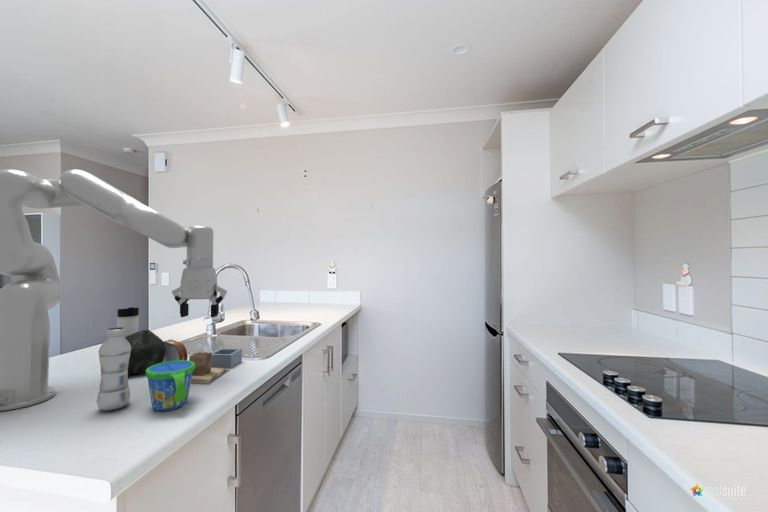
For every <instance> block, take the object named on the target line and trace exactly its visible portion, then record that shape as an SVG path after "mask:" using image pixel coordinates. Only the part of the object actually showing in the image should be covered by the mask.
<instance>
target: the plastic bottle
mask: <svg viewBox="0 0 768 512" xmlns="http://www.w3.org/2000/svg"><path fill="white" fill-rule="evenodd" d="M124 335H125V327H117V326H115V327H108V328H107V329H106V334H105V337H106V339H105V340H104V342H103V343H102V344H101V345H100V347H99V349H98V358H99V366H100V383H99V391H98V394H97V397H96V398H97V399H96V404H97V408H98V409H99V410H100V411H104V412H107V411H115V410H119V409H122V408H124V407H125V406H126V405H128V403H129V401H130V397H131V389H130V386H129V374H128V364H129V358H130V353H131V346H130V343H129V342H128V341H127V340H126V339H125V338H124Z"/></svg>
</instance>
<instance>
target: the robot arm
mask: <svg viewBox="0 0 768 512" xmlns="http://www.w3.org/2000/svg"><path fill="white" fill-rule="evenodd" d="M80 206H85V207H87V208H89V209H91V210H93V211H95V212H96V213H99V215H102V216H103V217H106V218H108V219H110V220H111V221H113V222H116V223H117V224H119V225H122V226H126V227H128V228H129V229H132V230H134V231H136V232H138V233H140V234H141V235H143V236H145V237H147V238H149V239H150V240H153V241H154V242H156V243H158V244H160V245H162V246H164V247H166V248H168V249H169V248H170V249H180V248H186V259H184V260H183V261H182V264H183V265H185V267H184V268H183V269H182V274H181V279H180V286H178V287H177V288H175V289H173V290H172V291H171V294H172V296H173V297H174V300H175V302H177V304H178V305H179V314H180V318H185V317H188V316H189V307H190V306H189V303H188V302H189V301H190V300H209V301H210V303H212V304H211V305H210V318H215V317H218V315H219V313H220V308H219V307H220V306H219V305H220V304H221V303H222V301H223V300H224V299H225V297H226V295H227V293H228V291H227V290H226V289H224V288H222V287H221V286H218V277H217V271H216V268H215V267H214V229H213V228H212V227H211V226H208V225H189V226H182V225H180V224H179V223H177V222H176V221H174V220H172V219H171V218H169V217H167V216H165V215H163V214H161V213H160V212H158V211H157V210H154V209H153V208H151V207H149V206H147V205H145V204H144V203H142V201H140V200H138V199H136V198H134V197H132V196H131V195H129V194H127V193H126V192H124V191H123V190H120V189H118V188H117V187H115V186H113V185H111V184H109V183H108V182H107V181H104V180H103V179H101V178H99V177H98V176H96V175H94V174H92V173H90V172H88V171H87V170H83V169H78V168H77V169H76V168H75V169H69V170H65V171H64V172H63V173H61V175H59V177H58V178H43V179H41V178H39V177H38V176H35V175H34V174H31V173H29V172H26V171H23V170H19V169H12V168H11V169H10V168H9V169H8V168H7V169H0V275H3V276H10V278H11V282H10V283H9V282H8V284H5V285H4V286H2V287H1V288H0V412H1V411H10V410H16V409H20V408H26V407H29V406H33V405H37V404H39V403H42V402H45V401H47V400H50V399H51V398H53V397H55V396H56V394H57V389H56V388H54V387H50V386H49V375H50V373H49V372H50V371H49V369H50V347H51V344H50V342H51V341H50V340H51V336H50V335H51V326H50V323H51V322H50V316H49V310H51V309H53V308H54V307H55V306H56V307H57V306H58V304H59V303H60V302H61V300H62V298H63V287H62V283H61V279H60V276H59V272H58V269H57V265H56V262H55V259H54V256H53V254H52V252H51V251H50V250H49V248H48V247H46V246H44V244H41V243H38V242H37V241H36V242H35V241H34V239H33V237H32V233H31V231H30V226H29V222H28V220H27V218H26V216H25V214H24V211H23V207H26V208H29V209H37V210H39V209H43V210H44V209H45V210H46V209H56V208H67V207H80ZM218 293H220V294H219V296H218Z"/></svg>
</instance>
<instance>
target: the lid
mask: <svg viewBox="0 0 768 512" xmlns="http://www.w3.org/2000/svg"><path fill="white" fill-rule="evenodd" d="M212 353H213V352H210V351H209V352H206V351H205V352H203V351H201V352H200V351H198V352H196V353H194V354H191V355H189V357H188V358H189V359H188V361H192V362H194V363H195V369H194V371H193V373H192V378H191V383H209V382H210V381H212V380H213V379H215V378H216V377H218V376H219V375H221V374H222V373H224V372H225V371H226V370H227V369H226V368H211V356H212Z"/></svg>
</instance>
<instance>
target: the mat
mask: <svg viewBox="0 0 768 512" xmlns="http://www.w3.org/2000/svg"><path fill="white" fill-rule="evenodd" d="M230 371H231V369H226V371H225V372H224V373H222V374H221V375H219V376H218V377H216V378H215V379H213V380H212V381H210V382H209V383H191V384H190V385H201V386H202V385H205V386H206V385H207V386H208V385H210V384H212V383H214V382H215V381H216V380H218V379H220V378H222V377H223V376H224V375H226V374H227V373H229V372H230Z"/></svg>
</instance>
